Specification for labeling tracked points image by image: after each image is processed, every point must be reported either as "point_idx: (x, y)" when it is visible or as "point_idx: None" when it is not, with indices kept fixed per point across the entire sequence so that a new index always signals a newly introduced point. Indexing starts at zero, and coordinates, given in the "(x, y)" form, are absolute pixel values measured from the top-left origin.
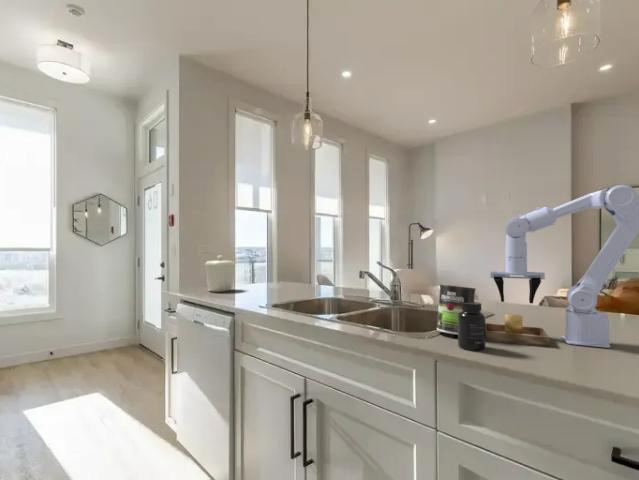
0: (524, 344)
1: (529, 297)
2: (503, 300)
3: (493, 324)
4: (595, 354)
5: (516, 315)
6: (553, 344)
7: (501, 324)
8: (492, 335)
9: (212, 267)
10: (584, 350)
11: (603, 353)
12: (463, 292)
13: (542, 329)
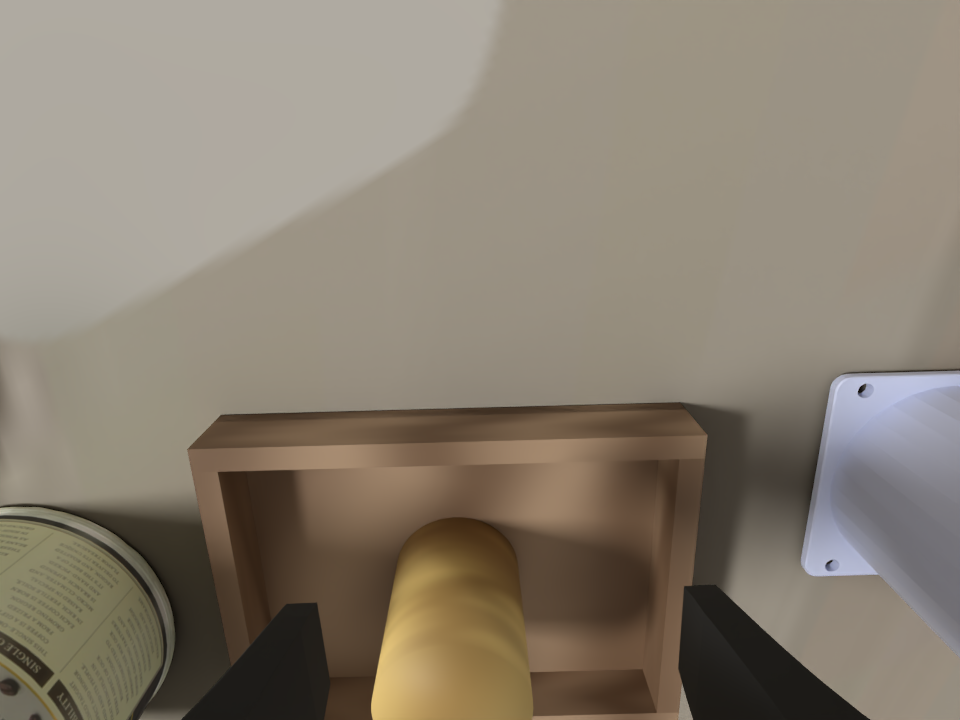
0: None
1: (715, 651)
2: (318, 709)
3: (288, 468)
4: (872, 708)
5: (482, 673)
6: None
7: (358, 447)
8: None
9: None
10: (847, 655)
11: (931, 673)
12: None
13: (694, 502)
